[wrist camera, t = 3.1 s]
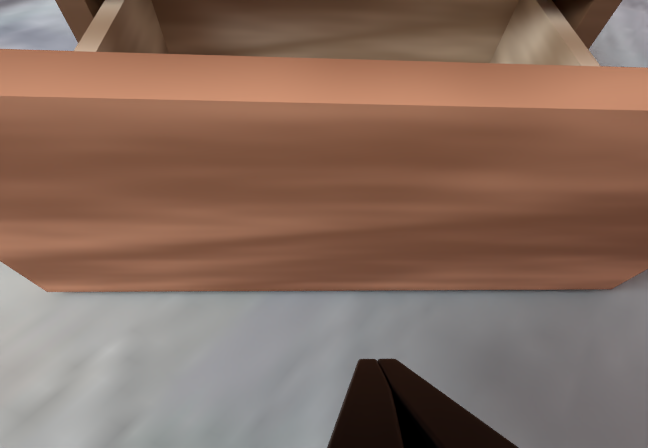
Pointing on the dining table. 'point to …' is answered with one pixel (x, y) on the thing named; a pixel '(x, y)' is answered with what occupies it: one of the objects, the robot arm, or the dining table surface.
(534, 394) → the dining table surface
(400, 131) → the drawer
